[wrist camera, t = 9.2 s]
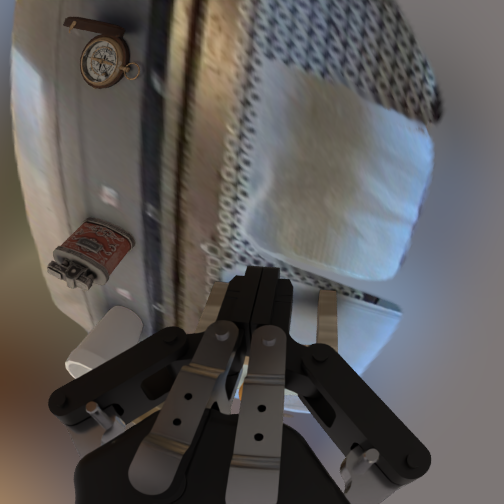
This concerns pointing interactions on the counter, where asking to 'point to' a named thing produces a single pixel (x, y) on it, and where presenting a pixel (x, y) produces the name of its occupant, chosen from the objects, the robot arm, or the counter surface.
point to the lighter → (90, 254)
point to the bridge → (324, 315)
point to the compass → (102, 53)
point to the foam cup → (105, 340)
